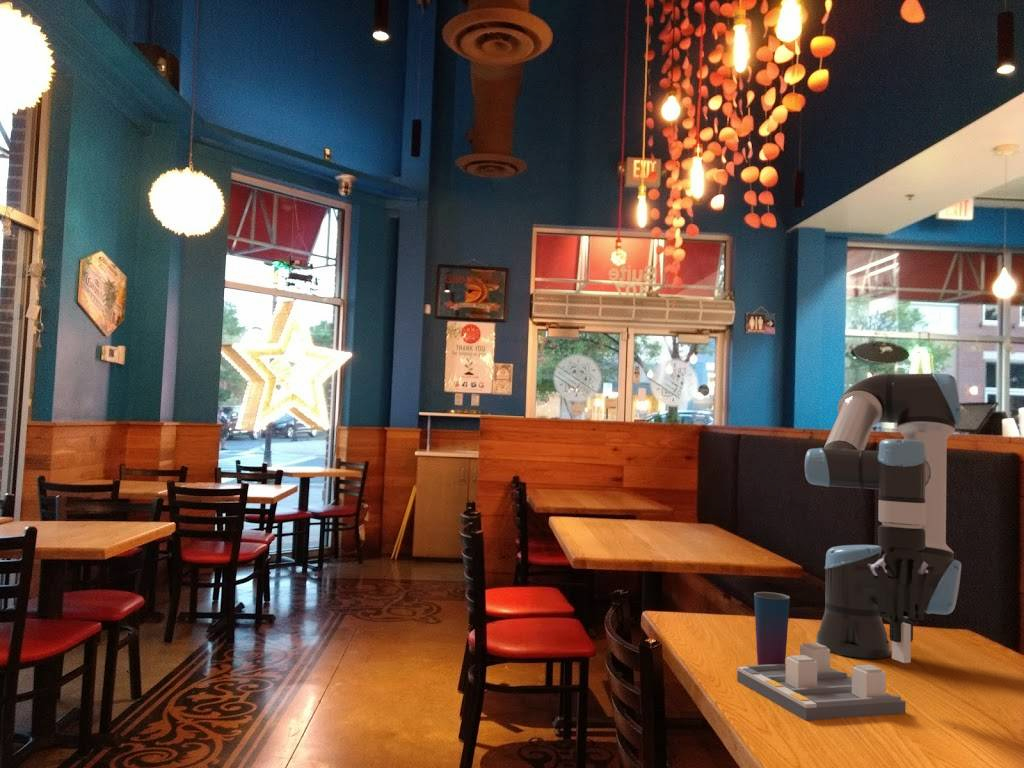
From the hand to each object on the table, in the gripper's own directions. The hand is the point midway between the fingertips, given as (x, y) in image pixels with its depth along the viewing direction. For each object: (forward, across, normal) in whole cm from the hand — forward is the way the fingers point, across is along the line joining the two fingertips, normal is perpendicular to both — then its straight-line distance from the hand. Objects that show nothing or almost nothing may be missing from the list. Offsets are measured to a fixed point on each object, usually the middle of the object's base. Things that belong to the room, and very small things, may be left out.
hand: (901, 660), depth 130 cm
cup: (+8, +11, -21) cm, 26 cm away
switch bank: (+8, +12, -7) cm, 16 cm away
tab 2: (+6, +7, 0) cm, 9 cm away
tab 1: (+6, +7, -14) cm, 17 cm away
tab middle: (+6, +15, -7) cm, 18 cm away
